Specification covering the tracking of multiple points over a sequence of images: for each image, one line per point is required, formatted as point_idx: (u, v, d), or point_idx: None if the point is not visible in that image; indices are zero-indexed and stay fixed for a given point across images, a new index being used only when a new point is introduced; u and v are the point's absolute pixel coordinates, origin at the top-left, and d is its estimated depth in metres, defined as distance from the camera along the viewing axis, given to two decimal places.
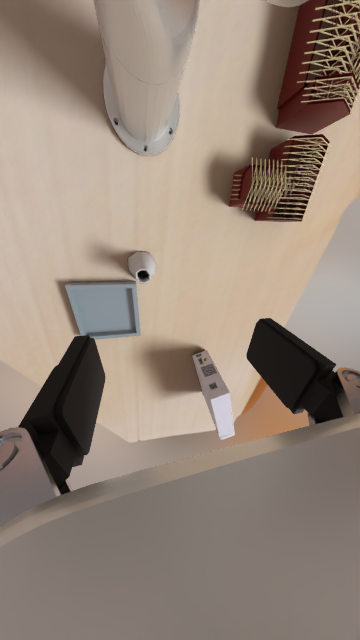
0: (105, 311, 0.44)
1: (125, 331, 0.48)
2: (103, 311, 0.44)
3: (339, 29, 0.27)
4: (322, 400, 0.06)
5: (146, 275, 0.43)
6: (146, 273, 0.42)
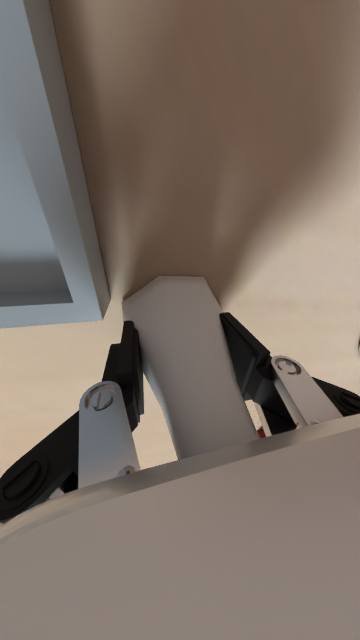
0: None
1: None
2: None
3: None
4: (259, 385, 0.07)
5: None
6: None
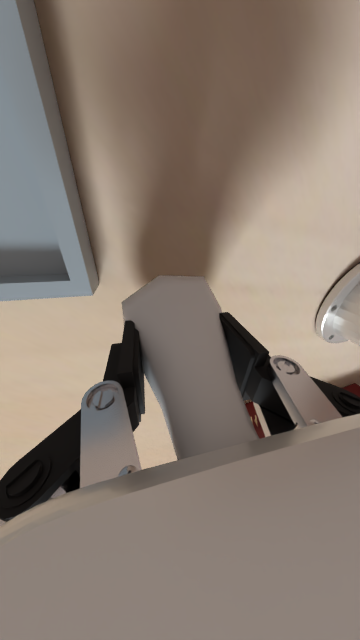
0: None
1: None
2: None
3: None
4: (258, 385, 0.07)
5: None
6: None
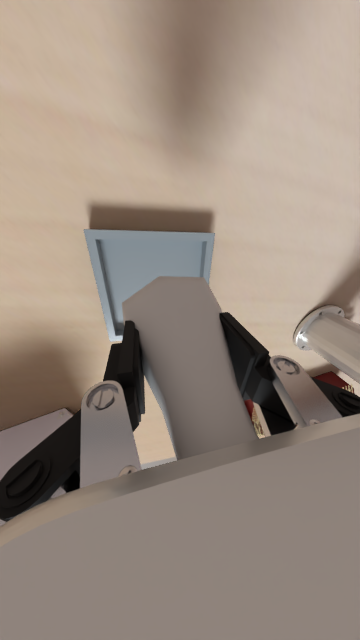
0: None
1: (113, 314, 0.25)
2: None
3: None
4: (258, 385, 0.07)
5: None
6: None
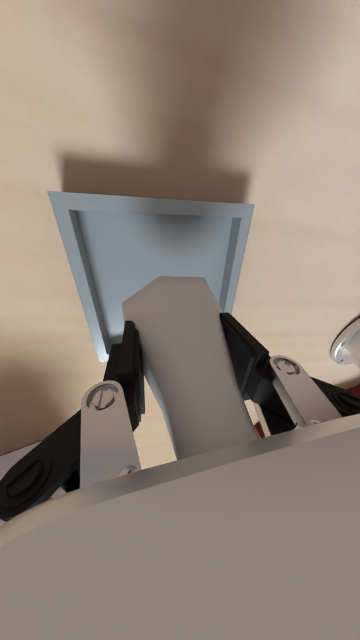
0: None
1: (103, 325, 0.18)
2: None
3: None
4: (258, 385, 0.07)
5: None
6: None
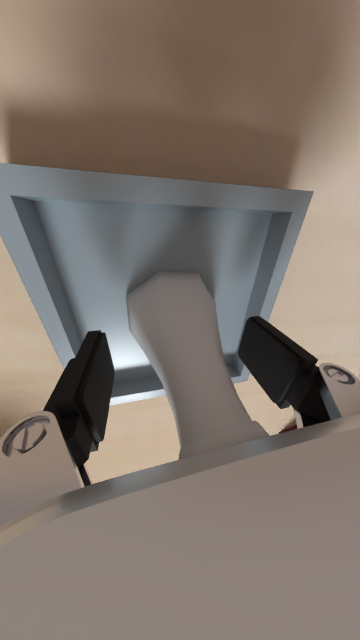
0: None
1: None
2: None
3: None
4: (305, 394, 0.07)
5: None
6: None
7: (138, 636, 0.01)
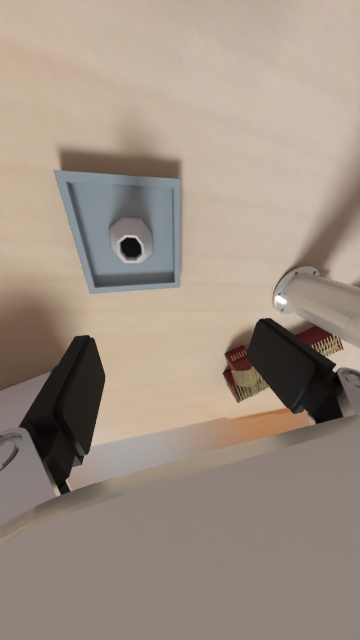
0: None
1: (91, 266, 0.27)
2: None
3: None
4: (322, 400, 0.06)
5: None
6: (121, 248, 0.27)
7: (138, 636, 0.01)
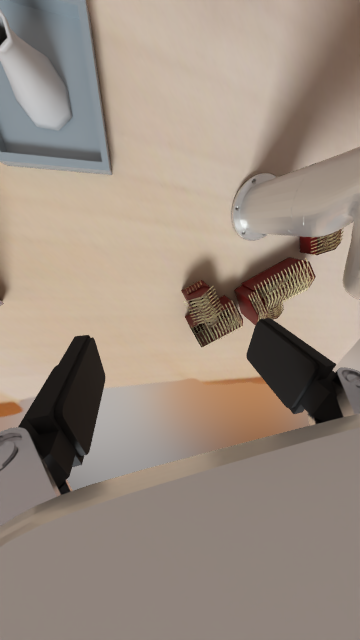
0: None
1: None
2: None
3: (277, 291, 0.48)
4: (322, 400, 0.06)
5: None
6: None
7: (138, 635, 0.01)
